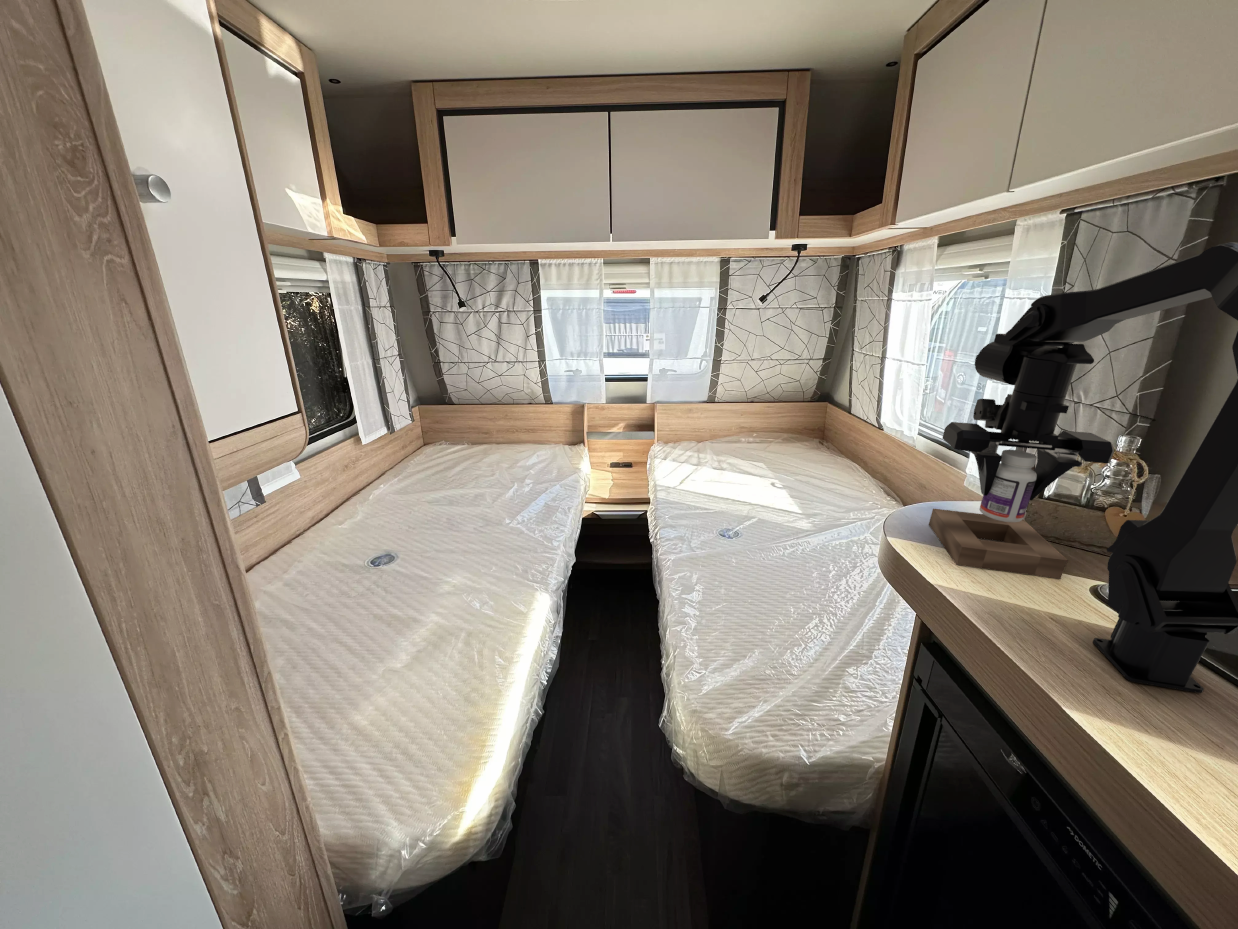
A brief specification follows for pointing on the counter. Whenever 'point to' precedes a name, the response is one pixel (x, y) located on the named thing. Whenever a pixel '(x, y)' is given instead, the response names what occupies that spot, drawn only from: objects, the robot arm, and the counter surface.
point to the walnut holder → (996, 544)
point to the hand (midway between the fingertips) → (1006, 496)
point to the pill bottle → (1011, 487)
